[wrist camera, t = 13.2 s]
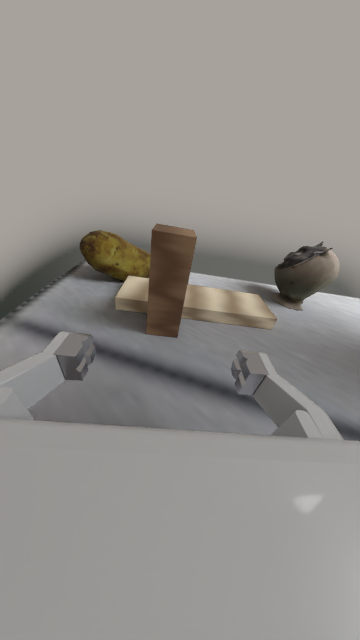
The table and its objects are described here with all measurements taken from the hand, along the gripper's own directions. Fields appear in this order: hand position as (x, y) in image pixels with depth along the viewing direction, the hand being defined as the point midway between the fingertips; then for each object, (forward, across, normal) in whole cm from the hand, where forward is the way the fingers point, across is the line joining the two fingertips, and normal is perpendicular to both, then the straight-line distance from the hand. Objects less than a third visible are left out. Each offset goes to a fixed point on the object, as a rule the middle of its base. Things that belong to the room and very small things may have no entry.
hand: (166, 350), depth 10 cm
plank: (+18, -4, +8) cm, 21 cm away
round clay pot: (+26, -26, +8) cm, 38 cm away
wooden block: (+15, +1, +8) cm, 17 cm away
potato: (+26, +9, +8) cm, 28 cm away
